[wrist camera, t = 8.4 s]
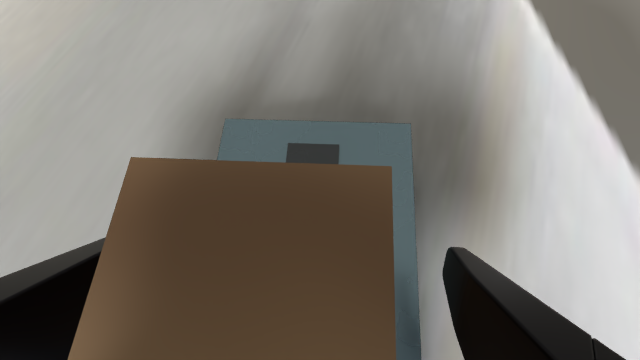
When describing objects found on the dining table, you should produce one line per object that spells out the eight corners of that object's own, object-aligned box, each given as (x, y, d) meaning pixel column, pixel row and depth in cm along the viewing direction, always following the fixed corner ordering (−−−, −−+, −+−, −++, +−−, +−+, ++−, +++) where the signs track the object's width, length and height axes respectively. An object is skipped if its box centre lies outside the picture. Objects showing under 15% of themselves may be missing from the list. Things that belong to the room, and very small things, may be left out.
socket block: (404, 515, 12) (434, 616, 8) (192, 488, 13) (129, 570, 9) (395, 159, 18) (411, 121, 14) (248, 153, 19) (224, 117, 15)
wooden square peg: (353, 350, 15) (400, 538, 3) (261, 343, 15) (25, 490, 4) (355, 255, 16) (391, 165, 5) (272, 250, 16) (131, 157, 5)
